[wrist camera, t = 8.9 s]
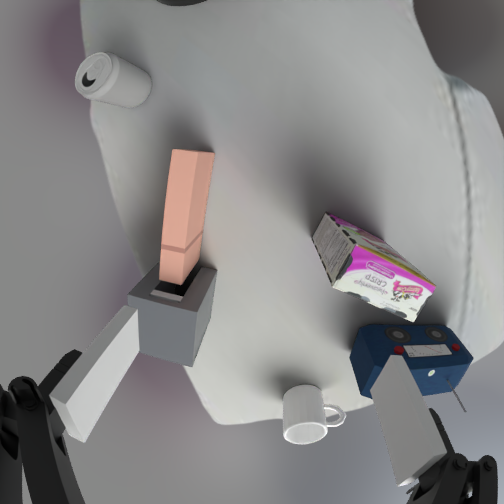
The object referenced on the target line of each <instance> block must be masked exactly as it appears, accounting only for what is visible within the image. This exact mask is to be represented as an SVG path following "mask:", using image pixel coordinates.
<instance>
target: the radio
mask: <svg viewBox="0 0 504 504" xmlns="http://www.w3.org/2000/svg"><path fill="white" fill-rule="evenodd" d="M390 355H399V356H402V357H403V358H404V360H405V362H406V364H407V366H408V368H409V370H410V372H411V374H412V376H413V378H414V380H415V382H416V384H417V386H418V388H419V390H420V392H421V394H422V396H426V395H433V394H439V393H445V392H451V391H453V392H454V394H455V396H456V397H457V399H458V401H459V403H460V404H461V407H462V408H463V410H464V412H466V410H465V408H464V407H463V405H462V403H461V401H460V399H459V398H458V396H457V394H456V392H455V391H454V389H455V387H456V386H457V385H458V384H459V382H460V380H461V379H462V377H463V376H464V374H465V372H466V371H467V369H468V367H469V365H470V364H471V362H472V360H473V357H472V355H471V354H470V353H469V351H468V350H467V349H466V347H465V346H464V345H463V344H462V342H461V341H460V340H459V339H458V337H457V336H456V335H455V334H454V332H453V331H452V330H451V329H450V328H448V327H446V326H415V325H376V324H370V325H367V326H364V327H362V328H359V331H358V334H357V337H356V340H355V343H354V346H353V349H352V351H351V354H350V357H349V358H350V361H351V364H352V367H353V370H354V374H355V377H356V380H357V384H358V387H359V390H360V394H361V395H362V396H365V397H368V398H371V399H373V398H372V395H371V392H370V390H371V388H372V386H373V385H374V383H375V381H376V380H377V378H378V376H379V375H380V373H381V371H382V370H383V368H384V366H385V364H386V363H387V361H388V359H389V357H390Z"/></svg>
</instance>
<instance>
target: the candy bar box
mask: <svg viewBox="0 0 504 504" xmlns="http://www.w3.org/2000/svg"><path fill="white" fill-rule="evenodd" d="M312 241H313V243H314V245H315V247H316V250H317V252H318V254H319V256H320V259H321V261H322V263H323V266H324V268H325V270H326V273H327V275H328V278H329V280H330V282H331V285H332V287H333V288H336V289H338V290H340V291H342V292H345V293H347V294H349V295H351V296H354V297H356V298H358V299H360V300H363V301H365V302H367V303H370V304H372V305H374V306H376V307H379V308H381V309H383V310H385V311H388V312H390V313H392V314H395V315H397V316H399V317H402V318H404V319H407V320H409V321H411V322H414V321H415V319H416V318H417V316H418V315H419V313H420V312H421V310H422V308H423V307H424V305H425V304H426V302H427V299H428V298H430V297H431V295H432V294H433V292H434V290H435V288H436V285H434V284H433V283H432V282H431V281H430V280H429V279H428V278H427V277H426V276H424V275H423V274H422V273H421V272H420V271H419V270H418V269H417V268H415V267H414V266H413V265H412V264H411V263H410V262H408V261H407V260H406V259H405V258H404V257H403V256H401V255H400V254H399V253H398V252H397V251H395V250H394V249H393V248H392V247H391V246H389V245H388V244H387V243H386V242H385V241H383V240H381V239H379V238H377V237H375V236H373V235H372V234H370V233H368V232H366V231H364V230H362V229H360V228H358V227H356V226H354V225H352V224H350V223H348V222H346V221H344V220H342V219H340V218H338V217H336V216H334V215H332V214H330V213H328V212H325V214H324V216H323V218H322V220H321V222H320V224H319V226H318V228H317V230H316V232H315V234H314V235H313V237H312Z"/></svg>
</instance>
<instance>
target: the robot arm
mask: <svg viewBox="0 0 504 504" xmlns="http://www.w3.org/2000/svg"><path fill="white" fill-rule="evenodd" d="M157 1H159V2H161V3H163V4H166V5H171V6H186V5H193V4H197V3H201V2H204V1H207V0H157ZM138 352H139V333H138V309H136V308H132V307H129V306H126V305H124V306H123V307H122V308H121V309H120V310H119V312H118V313H117V314H116V315H115V316H114V317H113V318H112V320H111V321H110V322H109V323H108V324H107V325H106V326H105V328H104V329H103V330H102V331H101V332H100V333H99V335H98V336H97V337H96V338H95V339H94V340H93V341H92V343H91V344H90V345H89V346H88V348H87V349H86V350H85V351H84V352H83V353H82V352H80V351H77V350H75V349H74V350H72V351H71V352H69V353H67V354H65V356H63V357H62V359H61V360H60V361H59V363H57V364H56V366H55V367H54V369H52V370H51V371H50V373H49V374H48V375H47V376H46V377H45V379H44V380H43V381H42V382H41V383H40V385H39V386H37V384H36V383H35V381H34V380H33V379H31V378H29V377H25V376H21V377H17V378H15V379H13V380H12V381H11V383H10V384H9V386H8V391H9V392H7V391H4V390H3V388H2V386H1V384H0V504H23V503H22V463H23V467H24V473H25V477H26V481H27V485H28V490H29V493H30V497H31V500H32V504H85V502H84V500H83V497H82V495H81V492H80V489H79V487H78V484H77V481H76V478H75V475H74V472H73V469H72V466H71V462H70V459H69V455H68V452H67V448H66V445H65V441H64V437H63V435H62V433H63V432H64V430H65V429H66V430H67V432H68V433H69V435H70V436H72V437H74V438H76V439H78V440H80V441H82V442H84V443H85V441H86V440H87V438H88V436H89V434H90V432H91V431H92V429H93V427H94V425H95V424H96V422H97V420H98V418H99V417H100V415H101V413H102V411H103V410H104V408H105V406H106V405H107V403H108V401H109V400H110V398H111V396H112V395H113V393H114V391H115V389H116V388H117V386H118V384H119V383H120V381H121V380H122V378H123V376H124V375H125V373H126V371H127V370H128V368H129V366H130V365H131V363H132V362H133V360H134V358H135V357H136V355H137V354H138ZM370 392H371V395H372V398H373V401H374V405H375V407H376V411H377V414H378V417H379V420H380V424H381V427H382V431H383V434H384V438H385V441H386V445H387V449H388V452H389V455H390V459H391V463H392V467H393V471H394V475H395V479H396V483H397V486H402V485H407V484H411V483H412V482H413V481H414V480H416V479H417V478H418V479H419V483H418V484H416V485H415V486H414V487H412V488H411V489H409V490H408V491H407V494H408V493H410V492H411V491H413V492H412V494H411V496H410V498H409V500H408V502H407V504H497V497H498V479H497V478H498V476H497V463H496V461H495V459H494V458H493V457H492V456H489V455H485V456H483V457H482V458H481V459H480V460H479V461H468V460H467V459H466V457H465V456H463V455H462V454H459V453H455V452H454V449H453V447H452V445H451V443H450V440H449V438H448V435H447V433H446V431H444V426H443V425H442V422H441V420H440V418H439V416H438V414H437V413H436V412H435V411H434V410H433V409H432V408H429V409H428V407H427V405H426V402H425V401H424V398H423V396H422V394H421V392H420V390H419V388H418V386H417V384H416V382H415V380H414V378H413V376H412V374H411V372H410V370H409V368H408V366H407V364H406V362H405V360H404V358H403V357H402V356H399V355H390V357H389V359H388V361H387V363H386V364H385V366H384V368H383V370H382V371H381V373H380V375H379V376H378V378H377V380H376V381H375V383H374V385H373V386H372V388H371V390H370ZM471 491H472V496H471V497H470V498H469V496H468V495H469V493H470V492H471Z"/></svg>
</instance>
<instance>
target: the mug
mask: <svg viewBox="0 0 504 504" xmlns="http://www.w3.org/2000/svg"><path fill="white" fill-rule="evenodd" d="M325 409H331V410H335V411H336V412H337V413H338V414H339V415H340V417H339V420H336V421H334V422H326V416H325ZM345 417H346V414H345V413H344V412H343V411H342V410H341V409H340V407H339V406H335V405H330V404H324V402H323V395H322V392H321V390H320V389H319V388H317V387H315V386H312V385H298V386H295V387H292V388H291V389H289V390H288V391H287V392H286V393H285V394H284V397H283V436H284V438H285V439H286V440H287V441H289V442H291V443H295V444H308V443H313V442H316V441H318V440H320V439H322V438H323V437H324V436H325V435H326V433H327V427H336V426H338V425H340V424H342V423H343V421H344V419H345Z"/></svg>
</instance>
